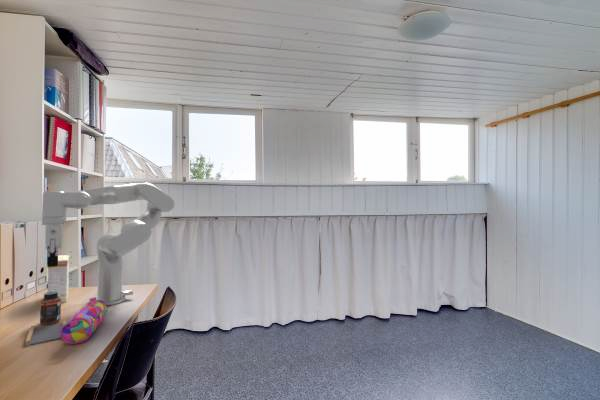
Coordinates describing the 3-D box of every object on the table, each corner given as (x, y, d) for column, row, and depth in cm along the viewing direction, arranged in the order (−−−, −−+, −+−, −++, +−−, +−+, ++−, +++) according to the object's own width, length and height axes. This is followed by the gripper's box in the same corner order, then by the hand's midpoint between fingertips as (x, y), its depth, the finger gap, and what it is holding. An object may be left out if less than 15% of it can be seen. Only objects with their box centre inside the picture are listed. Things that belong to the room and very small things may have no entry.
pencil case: (79, 322, 110) (79, 298, 111) (107, 318, 114) (108, 295, 114) (58, 348, 91) (58, 320, 91) (93, 343, 94) (94, 316, 94)
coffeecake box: (50, 295, 139) (51, 255, 139) (68, 293, 143) (69, 254, 143) (46, 305, 127) (47, 261, 127) (66, 302, 131) (68, 259, 131)
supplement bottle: (64, 320, 111) (64, 291, 111) (46, 326, 106) (47, 296, 106) (54, 318, 113) (54, 289, 113) (36, 324, 107) (36, 294, 108)
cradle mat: (66, 323, 108) (66, 319, 108) (65, 337, 97) (65, 333, 97) (30, 330, 102) (30, 326, 102) (25, 346, 91) (25, 341, 91)
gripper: (65, 222, 112) (63, 268, 112) (66, 219, 124) (65, 262, 124) (39, 222, 108) (38, 271, 107) (43, 220, 120) (41, 263, 119)
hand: (52, 266), depth 116 cm, fingers closed
